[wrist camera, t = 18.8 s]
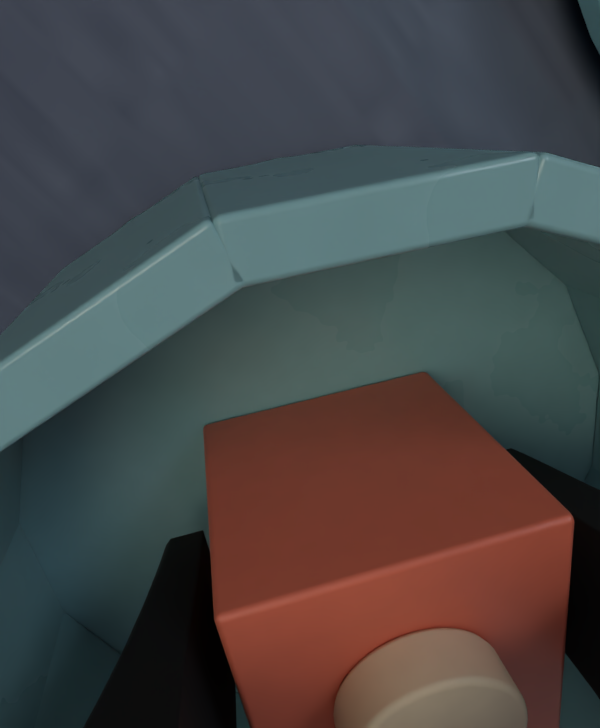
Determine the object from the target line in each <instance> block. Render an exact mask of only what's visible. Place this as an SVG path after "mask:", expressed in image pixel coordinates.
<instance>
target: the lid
mask: <svg viewBox="0 0 600 728" xmlns="http://www.w3.org/2000/svg"><path fill="white" fill-rule="evenodd" d="M578 3H579V6H580V8H581V11H582V14H583V17H584V20H585V23H586V26H587V28H588V31H589V34H590V37H591V39H592V41H593V43H594V45H595V47H596V49H597V51H598V53H599V55H600V0H578Z"/></svg>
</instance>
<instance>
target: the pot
mask: <svg viewBox="0 0 600 728" xmlns="http://www.w3.org/2000/svg"><path fill="white" fill-rule="evenodd" d="M420 372H426V373H428V374H429V375H430V376H431V377H432V378H433V379H434V380H435V381H436V382H437V383H438V384H439V385H440V386H441V387H442V388H443V389H444V390H445V391H446V392H447V393H448V394H449V395H450V396H451V397H452V398H453V399H454V400H455V401H456V402H457V403H458V404H459V405H460V406H461V407H462V408H463V409H465V410H466V411H467V412H468V413H469V414H470V415H471V416H472V417H473V418H474V419H475V420H476V421H477V422H478V423H479V424H480V425H481V426H482V427H483V428H484V429H485V430H486V431H487V432H488V433H489V434H490V435H491V436H492V437H493V438H494V439H495V440H496V441H497V442H498V443H499V444H500V445H501V446H502V447H503V448H505V449H510V448H512V449H514V450H517V451H519V452H521V453H524V454H526V455H528V456H530V457H532V458H534V459H536V460H538V461H541V462H543V463H545V464H547V465H549V466H551V467H553V468H555V469H557V470H559V471H561V472H563V473H565V474H567V475H570V476H572V477H574V478H576V479H578V480H580V481H582V482H584V483H586V484H588V485H590V486H592V487H595V488H597V489H599V490H600V167H596V166H593V165H589V164H585V163H582V162H578V161H575V160H571V159H568V158H564V157H561V156H557V155H554V154H550V153H547V152H527V151H502V150H476V149H450V148H424V147H399V146H373V145H353V146H347V147H342V148H337V149H331V150H326V151H321V152H316V153H310V154H305V155H300V156H292V157H283V158H275V159H272V160H268V161H264V162H260V163H257V164H252V165H247V166H242V167H237V168H231V169H226V170H221V171H216V172H210V173H205V174H201V175H200V176H199V178H198V177H194V178H192V179H191V180H189V181H188V182H186V183H185V184H184V185H182V186H181V187H179V188H178V189H176V190H175V191H174V192H172V193H171V194H169V195H168V196H166V197H165V198H164V199H162V200H161V201H159V202H158V203H156V204H155V205H154V206H152V207H151V208H149V209H148V210H146V211H144V212H143V213H141V214H139V215H138V216H136V217H134V218H132V219H131V220H130V221H128V222H127V223H126V224H125V225H123V226H122V227H121V228H120V229H118V230H117V231H116V232H115V233H113V234H112V235H111V236H109V237H108V238H106V239H105V240H103V241H102V242H101V243H99V244H98V245H96V246H95V247H93V248H92V249H91V250H89V251H88V252H86V253H85V254H83V255H82V256H81V257H79V258H78V259H76V260H75V261H73V262H72V263H71V264H69V265H68V266H66V267H65V268H63V269H62V270H61V271H60V273H59V274H58V275H57V276H56V277H55V278H54V279H53V280H52V281H51V282H50V283H49V284H48V285H47V286H46V287H45V288H44V289H43V291H42V292H41V293H40V294H39V295H38V296H37V297H36V298H35V299H34V300H33V301H32V302H31V303H30V304H29V305H28V306H27V307H26V309H25V310H24V311H23V312H22V313H21V314H20V315H19V316H18V317H17V318H16V319H15V320H14V321H13V322H12V323H11V324H10V325H9V327H8V328H7V329H6V330H5V331H4V332H3V333H2V334H1V335H0V728H83V727H84V725H85V723H86V721H87V719H88V718H89V716H90V714H91V712H92V710H93V708H94V707H95V705H96V703H97V701H98V699H99V697H100V695H101V693H102V691H103V689H104V687H105V685H106V683H107V681H108V679H109V677H110V675H111V673H112V671H113V669H114V667H115V665H116V663H117V661H118V659H119V657H120V655H121V653H122V651H123V649H124V647H125V645H126V643H127V640H128V638H129V636H130V634H131V631H132V629H133V627H134V625H135V622H136V620H137V618H138V616H139V613H140V611H141V609H142V607H143V604H144V602H145V599H146V597H147V595H148V592H149V590H150V587H151V585H152V582H153V580H154V577H155V574H156V572H157V569H158V566H159V564H160V561H161V558H162V555H163V553H164V550H165V547H166V544H167V543H168V542H169V540H170V539H171V538H175V537H179V536H183V535H186V534H190V533H194V532H198V531H201V530H203V531H204V535H205V538H206V541H207V544H208V547H209V550H210V542H209V524H208V507H207V490H206V472H205V455H204V437H203V428H204V426H205V425H207V424H211V423H215V422H219V421H223V420H227V419H232V418H236V417H240V416H244V415H248V414H252V413H256V412H260V411H264V410H268V409H273V408H277V407H281V406H285V405H289V404H293V403H297V402H301V401H305V400H309V399H314V398H318V397H322V396H326V395H330V394H334V393H338V392H342V391H346V390H350V389H355V388H359V387H363V386H367V385H371V384H375V383H379V382H383V381H387V380H392V379H396V378H400V377H404V376H408V375H412V374H416V373H420ZM235 688H236V723H237V728H250V726H249V723H248V720H247V717H246V714H245V711H244V708H243V705H242V702H241V699H240V696H239V693H238V690H237V687H236V684H235ZM559 728H600V699H599V698H598V696H597V695H596V693H595V692H594V691H593V689H592V688H591V686H590V685H589V684H588V683H587V681H586V680H585V679H584V677H583V676H582V675H581V673H580V672H579V671H578V669H577V668H576V667H575V665H574V664H573V663H572V661H571V660H570V659H569V658H568V656H567V655H566V654H565V657H564V670H563V684H562V697H561V711H560V725H559Z"/></svg>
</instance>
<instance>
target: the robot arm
mask: <svg viewBox="0 0 600 728" xmlns="http://www.w3.org/2000/svg"><path fill="white" fill-rule="evenodd" d="M506 450H507V451H508V452H509V453H510V454H511V455H512V456H513V457H514V458H515V459H516V460H517V461H518V462H519V463H520V464H521V465H522V466H523V467H524V468H525V469H526V470H527V471H528V472H529V473H530V474H531V475H532V476H533V477H534V478H535V479H536V480H537V481H538V482H539V483H540V484H541V485H542V486H543V487H544V488H546V489H547V490H548V491H549V492H550V493H551V494H552V495H553V496H554V497H555V498H556V499H557V500H558V501H559V502H560V503H561V504H562V505H563V506H564V507H565V508H566V509H567V510H568V511H569V512H570V513H571V514H572V516H573V519H574V534H573V548H572V562H571V575H570V589H569V602H568V616H567V630H566V643H565V654H566V655H567V656H568V658H569V659H570V660H571V661H572V663H573V664H574V665H575V667H576V668H577V669H578V671H579V672H580V673H581V675H582V676H583V677H584V679H585V680H586V681H587V683H588V684H589V685H590V686H591V688H592V689H593V691H594V692H595V693H596V695H597V696H598V698H599V699H600V490H599V489H597V488H595V487H592V486H590V485H588V484H586V483H584V482H582V481H580V480H578V479H576V478H574V477H572V476H570V475H567V474H565V473H563V472H561V471H559V470H557V469H555V468H553V467H551V466H549V465H547V464H545V463H543V462H541V461H538V460H536V459H534V458H532V457H530V456H528V455H526V454H524V453H521V452H519V451H517V450H514V449H512V448H510V449H506ZM83 728H237V723H236V688H235V681H234V678H233V675H232V672H231V669H230V666H229V663H228V660H227V657H226V654H225V651H224V648H223V645H222V642H221V639H220V636H219V633H218V630H217V627H216V624H215V621H214V612H213V594H212V577H211V559H210V550H209V547H208V544H207V541H206V538H205V535H204V531H203V530H201V531H198V532H194V533H190V534H186V535H183V536H179V537H175V538H171V539H170V540H169V542H168V543H167V544H166V547H165V550H164V553H163V555H162V558H161V561H160V564H159V566H158V569H157V572H156V574H155V577H154V580H153V582H152V585H151V587H150V590H149V592H148V595H147V597H146V599H145V602H144V604H143V607H142V609H141V611H140V613H139V616H138V618H137V620H136V622H135V625H134V627H133V629H132V631H131V634H130V636H129V638H128V640H127V643H126V645H125V647H124V649H123V651H122V653H121V655H120V657H119V659H118V661H117V663H116V665H115V667H114V669H113V671H112V673H111V675H110V677H109V679H108V681H107V683H106V685H105V687H104V689H103V691H102V693H101V695H100V697H99V699H98V701H97V703H96V705H95V707H94V708H93V710H92V712H91V714H90V716H89V718H88V719H87V721H86V723H85V725H84V727H83Z"/></svg>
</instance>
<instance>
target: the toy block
mask: <svg viewBox="0 0 600 728" xmlns="http://www.w3.org/2000/svg"><path fill="white" fill-rule="evenodd" d="M203 437H204V455H205V472H206V490H207V507H208V524H209V542H210V559H211V577H212V594H213V612H214V621H215V624H216V627H217V630H218V633H219V636H220V639H221V642H222V645H223V648H224V651H225V654H226V657H227V660H228V663H229V666H230V669H231V672H232V675H233V678H234V681H235V684H236V687H237V690H238V693H239V696H240V699H241V702H242V705H243V708H244V711H245V714H246V717H247V720H248V723H249V726H250V728H559V725H560V711H561V697H562V684H563V670H564V657H565V643H566V630H567V616H568V602H569V589H570V575H571V562H572V548H573V534H574V519H573V516H572V514H571V513H570V512H569V511H568V510H567V509H566V508H565V507H564V506H563V505H562V504H561V503H560V502H559V501H558V500H557V499H556V498H555V497H554V496H553V495H552V494H551V493H550V492H549V491H548V490H547V489H546V488H544V487H543V486H542V485H541V484H540V483H539V482H538V481H537V480H536V479H535V478H534V477H533V476H532V475H531V474H530V473H529V472H528V471H527V470H526V469H525V468H524V467H523V466H522V465H521V464H520V463H519V462H518V461H517V460H516V459H515V458H514V457H513V456H512V455H511V454H510V453H509V452H508V451H507V450H506V449H505V448H503V447H502V446H501V445H500V444H499V443H498V442H497V441H496V440H495V439H494V438H493V437H492V436H491V435H490V434H489V433H488V432H487V431H486V430H485V429H484V428H483V427H482V426H481V425H480V424H479V423H478V422H477V421H476V420H475V419H474V418H473V417H472V416H471V415H470V414H469V413H468V412H467V411H466V410H465V409H463V408H462V407H461V406H460V405H459V404H458V403H457V402H456V401H455V400H454V399H453V398H452V397H451V396H450V395H449V394H448V393H447V392H446V391H445V390H444V389H443V388H442V387H441V386H440V385H439V384H438V383H437V382H436V381H435V380H434V379H433V378H432V377H431V376H430V375H429V374H428V373H426V372H420V373H416V374H412V375H408V376H404V377H400V378H396V379H392V380H387V381H383V382H379V383H375V384H371V385H367V386H363V387H359V388H355V389H350V390H346V391H342V392H338V393H334V394H330V395H326V396H322V397H318V398H314V399H309V400H305V401H301V402H297V403H293V404H289V405H285V406H281V407H277V408H273V409H268V410H264V411H260V412H256V413H252V414H248V415H244V416H240V417H236V418H232V419H227V420H223V421H219V422H215V423H211V424H207V425H205V426H204V428H203Z"/></svg>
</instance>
